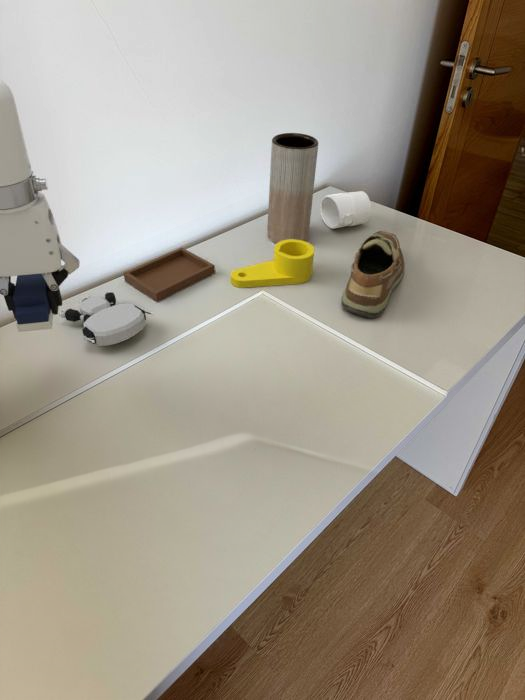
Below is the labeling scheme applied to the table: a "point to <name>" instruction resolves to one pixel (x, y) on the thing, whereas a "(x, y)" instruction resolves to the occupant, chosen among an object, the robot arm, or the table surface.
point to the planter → (291, 186)
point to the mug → (345, 209)
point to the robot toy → (107, 319)
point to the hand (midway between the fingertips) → (37, 310)
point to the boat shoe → (374, 275)
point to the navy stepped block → (32, 303)
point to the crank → (279, 267)
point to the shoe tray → (169, 274)
